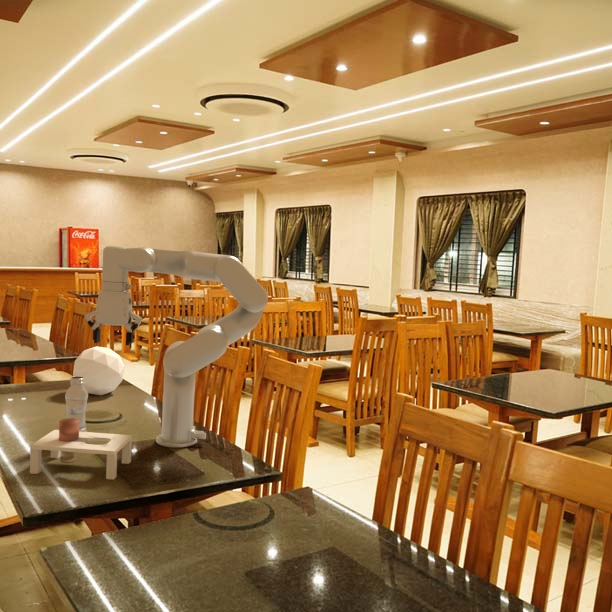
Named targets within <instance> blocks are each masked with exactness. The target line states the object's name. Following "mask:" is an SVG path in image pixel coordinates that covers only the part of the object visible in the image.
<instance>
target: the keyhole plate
mask: <svg viewBox="0 0 612 612" xmlns="http://www.w3.org/2000/svg"><path fill="white" fill-rule="evenodd" d="M76 441H84V442H63V441H60V440H59V429H53V430H52V431H50V432H49V433H47V434H45V435H43V437H41V438H40V439H38V440H36V441H35V442H33V443H32V444H30V448H29V449H30V454H29V456H30V457H29V474H32V475H33V474H35V475H38V474H39V473H41V472H42V453H43V452H42V451H50V458H51V459H60V458H61V457H62V452H63V451H66V452H74V453H79V454H80V453H82V454H94V455H106V471H105V473H106V474H105V480H115V479H116V478H117V471H118V470H117V469H118V452H120V451H121V464H130V463H131V462H132V450H133V449H132V447H133V446H132V445H133V435H131V434H119V433H118V434H117V433H108V432H107V433H106V432H105V433H104V432H90V431H86V432H80V431H79V439H78V440H76ZM86 442H87V443H86ZM88 442H89V443H88ZM90 442H91V444H90ZM92 442H105V444H92Z"/></svg>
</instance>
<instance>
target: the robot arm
mask: <svg viewBox="0 0 612 612" xmlns="http://www.w3.org/2000/svg"><path fill="white" fill-rule="evenodd" d="M101 271H102V272H101V274H102V275H101V290H100V291H99V292H98V296H97V301H96V308H95V310H92V311H90V312H88V313H86V314H84V318H85V319H86V322H87V325H89V327H90V328H91V330H92V340H93V343H94V344H98V343H100V342H101V329H100V327H101V326H102V325H106V326H107V325H108V326H122V327H124V328H125V330H126V333H125V345H126V346H130V345H132V343H133V341H134V340H133V339H134V338H133V337H134V331H135V330H136V329H138V328H139V327H140V325H141V323H142V321H143V317H141V316H139V315H138V314H136V313H134V312H133V303H132V300H133V299H132V293H131V292H129V290H133V284H130V282H129V271H130V272H134V273H141V274H142V273H143V274H144V273H154V274H155V273H156V274H157V273H158V274H166V275H174V276H178V277H180V278H183V279H188V280H197V281H198V280H199V281H207V282H216V283H221V284H222V285H223V287H224V288H225V289H226V290H227V291H228V292H229V293H230V295H231V296H232V297H233V298H234V299H235V300H236V301H237V303H238V304H237V306H236V308H234V309H233V310H232V311H231V312H229V313H227V314H226V315H224V316H222V317H221V318H219V319H217V320H215V321H214V322H212V323H210V324H208V325H206V326H204V327H202V328H200V329H199V330H198V332H197V333H196V334H195V335H194V336H191V337H190V338H188V339H187V340H185V341H183V340H179V341H175V342H172V344H170V345H169V346H168V347H167V348H166V350H165V353H164V356H163V360H162V361H163V363H162V365H163V369H164V375H163V393H162V413H161V415H162V417H161V433H160V434H159V435H157V436H156V438H155V443H157V444H158V445H159V446H162V447H166V448H187V447H190V446H193V445H196V443H197V442H198V439H200V440H206V438H207V433H206V432H204V430H197V429H196V425H194V410H195V409H194V408H195V394H196V393H195V392H196V391H195V388H196V372H198V371H200V370H201V369H203V368H205V367H207V366H209V365H210V364H212V363H213V362H216V361H217V360H218V359H220V358H221V357H222V356H223V355H224V354H225V352H227V349H228V346H229V347H230V346H231V344H233V343H235V342H237V341H239V340H240V339H241V338H243V337H244V336H246V335H248V334H249V333H250V332H252V331H253V330H254V329H255V328H256V327H257V326H258V324H259V322H260V321H261V318H262V317H263V313H264V311H265V308H266V306H267V304H268V299H269V297H268V292H267V291H266V289H265V288H264V287H263V286H262V284H260V283H259V282H258V281H257V279H256V278H255V277H254V276H253V274H252V273H251V272H250V271H249V270H248V269H247V268H246V266H244V263H242V261H241V260H240V259H239V258H237V257H235V256H233V255H229V254H219V253H218V254H217V253H211V252H210V253H209V252H201V251H193V250H169V249H160V248H152V247H140V246H139V247H124V246H113V245H112V246H111V245H109V246H105V247H104V248H103V250H102V270H101ZM94 316H95V317H94ZM92 317H94V318H95V321H94V319H92ZM133 320H135V322H134V324H132V323H133Z"/></svg>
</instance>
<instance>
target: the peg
mask: <svg viewBox="0 0 612 612" xmlns="http://www.w3.org/2000/svg"><path fill="white" fill-rule="evenodd" d="M58 422H59V423H58V424H59V426H58V430H59V440H60V441H63V442H74V441H76V440H78V439H79V419H75V418H66V417H65V418H62V419H60V420H59V421H58ZM62 452H63V454H62V455H61V456H60V457H59V460H60V462H59V463H62V464H71V463H74V462H76V461H77V456H76V455H74V453H75V452H66V451H62Z"/></svg>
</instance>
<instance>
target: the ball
mask: <svg viewBox="0 0 612 612" xmlns="http://www.w3.org/2000/svg"><path fill="white" fill-rule="evenodd" d="M124 372H125V364H124V362H123V359H122V357H121V355H120V354H118V353H117V352H115V351H114V350H112V349H111V348H109V347H105V346H94V347H91V348H90V347H89V348H87V349H84V350H82V352H81V353H80V354H79V355H78V357H77V358H76V359H75V360H74V365H73V373H72V377H75V376H80V377H83V378H84V384H83V386H84V387H85V389H86V390H87V392H88V394H91V395H96V396H104V395H106V394H109V393H111V392H114V391H115V390H116V389H117V387H118V386H119V385H120V384H121V383H122V382H123V380H124V374H125V373H124Z"/></svg>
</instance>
